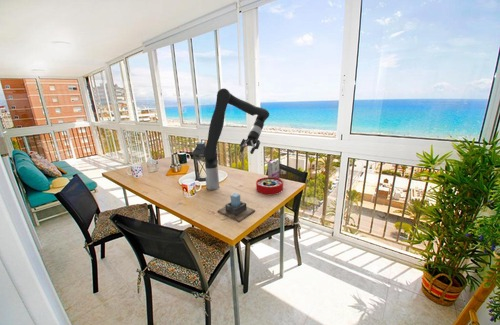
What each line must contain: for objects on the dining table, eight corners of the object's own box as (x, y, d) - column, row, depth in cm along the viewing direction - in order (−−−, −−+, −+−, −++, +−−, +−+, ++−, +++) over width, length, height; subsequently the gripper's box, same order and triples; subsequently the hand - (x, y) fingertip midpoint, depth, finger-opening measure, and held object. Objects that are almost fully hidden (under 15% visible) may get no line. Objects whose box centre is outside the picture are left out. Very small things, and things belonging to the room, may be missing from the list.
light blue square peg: (231, 210, 118) (230, 195, 115) (235, 207, 121) (234, 193, 118) (236, 212, 116) (235, 197, 113) (240, 209, 119) (240, 194, 116)
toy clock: (258, 177, 159) (283, 177, 155) (258, 183, 161) (283, 184, 157) (254, 186, 140) (282, 187, 137) (254, 194, 142) (282, 195, 138)
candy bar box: (274, 176, 174) (274, 158, 169) (279, 177, 171) (279, 159, 166) (267, 180, 166) (267, 161, 161) (272, 181, 163) (272, 162, 158)
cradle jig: (217, 211, 119) (216, 204, 118) (233, 203, 129) (233, 196, 128) (239, 221, 108) (238, 213, 107) (255, 211, 118) (254, 203, 117)
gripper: (244, 129, 140) (235, 148, 134) (261, 130, 132) (252, 150, 126) (248, 136, 146) (240, 154, 140) (265, 137, 138) (257, 156, 132)
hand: (245, 152), depth 133 cm, fingers open, 8 cm apart
